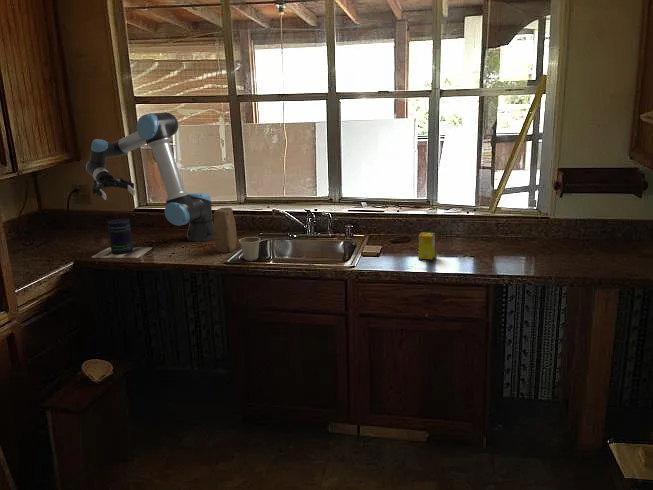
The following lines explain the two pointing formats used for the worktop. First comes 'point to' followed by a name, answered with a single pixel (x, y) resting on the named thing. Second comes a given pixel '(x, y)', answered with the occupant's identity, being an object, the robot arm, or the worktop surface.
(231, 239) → the block
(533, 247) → the worktop surface
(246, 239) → the flower pot
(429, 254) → the supplement box
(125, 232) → the dark blue can
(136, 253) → the board
